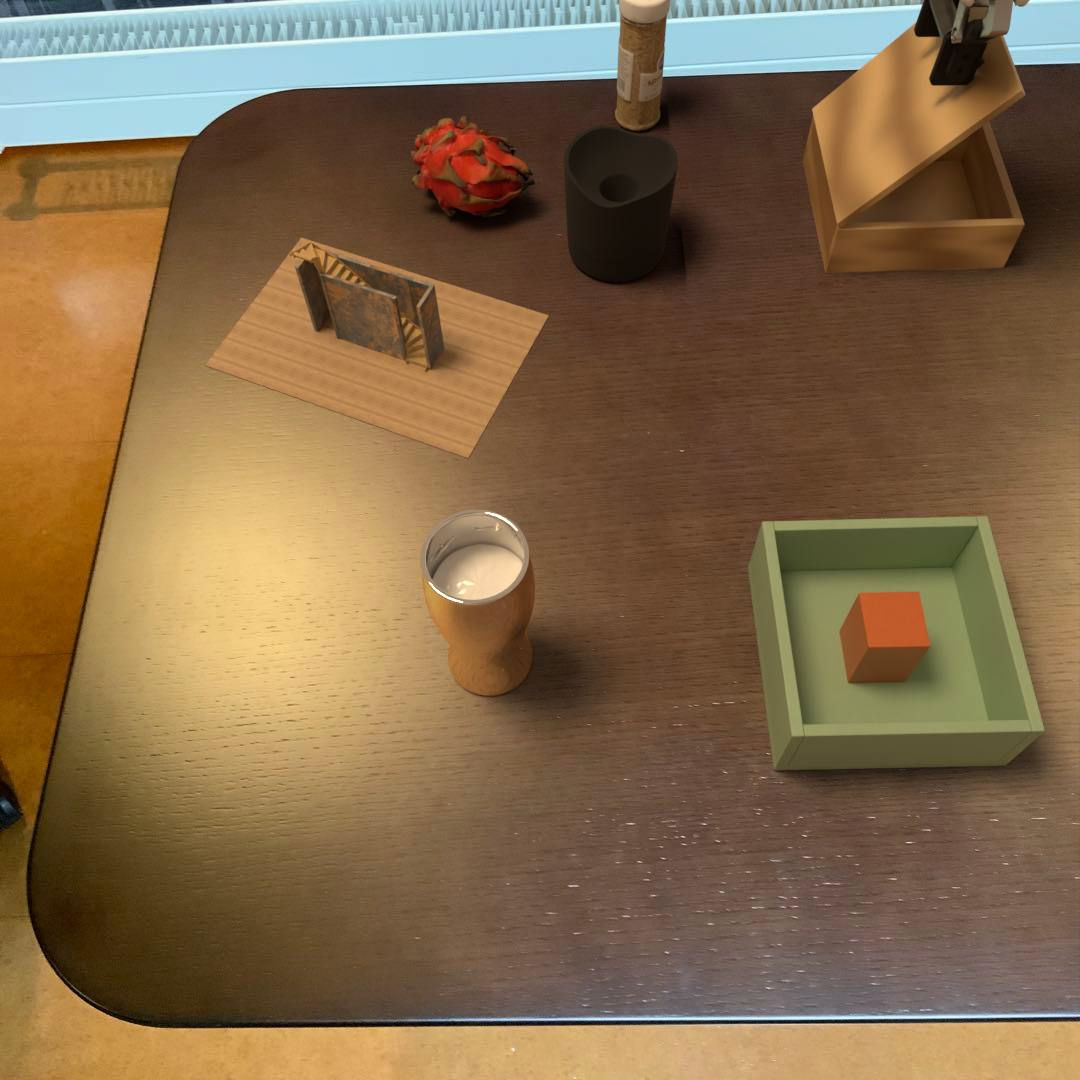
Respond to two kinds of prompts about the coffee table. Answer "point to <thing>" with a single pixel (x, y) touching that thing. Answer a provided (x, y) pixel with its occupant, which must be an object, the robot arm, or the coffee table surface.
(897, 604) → the block
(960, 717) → the open box
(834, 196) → the lid
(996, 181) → the chest
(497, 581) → the beer glass
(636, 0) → the spice jar
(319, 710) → the coffee table surface
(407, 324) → the architectural model on board
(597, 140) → the pen holder
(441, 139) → the dragon fruit
